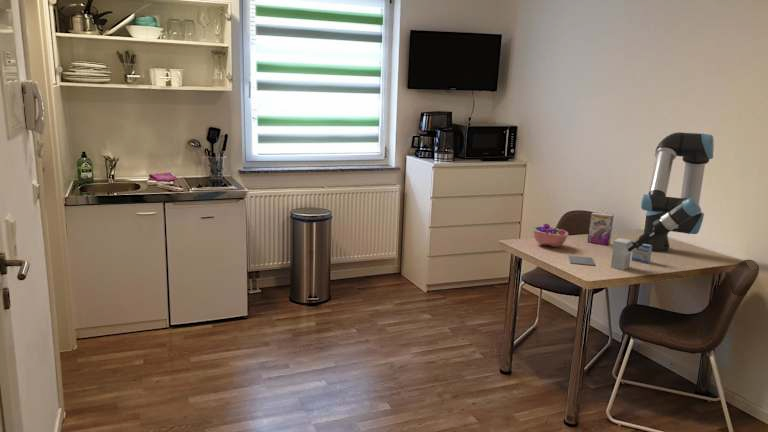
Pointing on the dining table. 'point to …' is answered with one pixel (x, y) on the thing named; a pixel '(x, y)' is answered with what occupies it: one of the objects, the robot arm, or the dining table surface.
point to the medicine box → (642, 253)
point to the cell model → (549, 235)
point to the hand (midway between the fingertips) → (625, 251)
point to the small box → (620, 254)
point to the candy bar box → (600, 228)
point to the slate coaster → (581, 260)
